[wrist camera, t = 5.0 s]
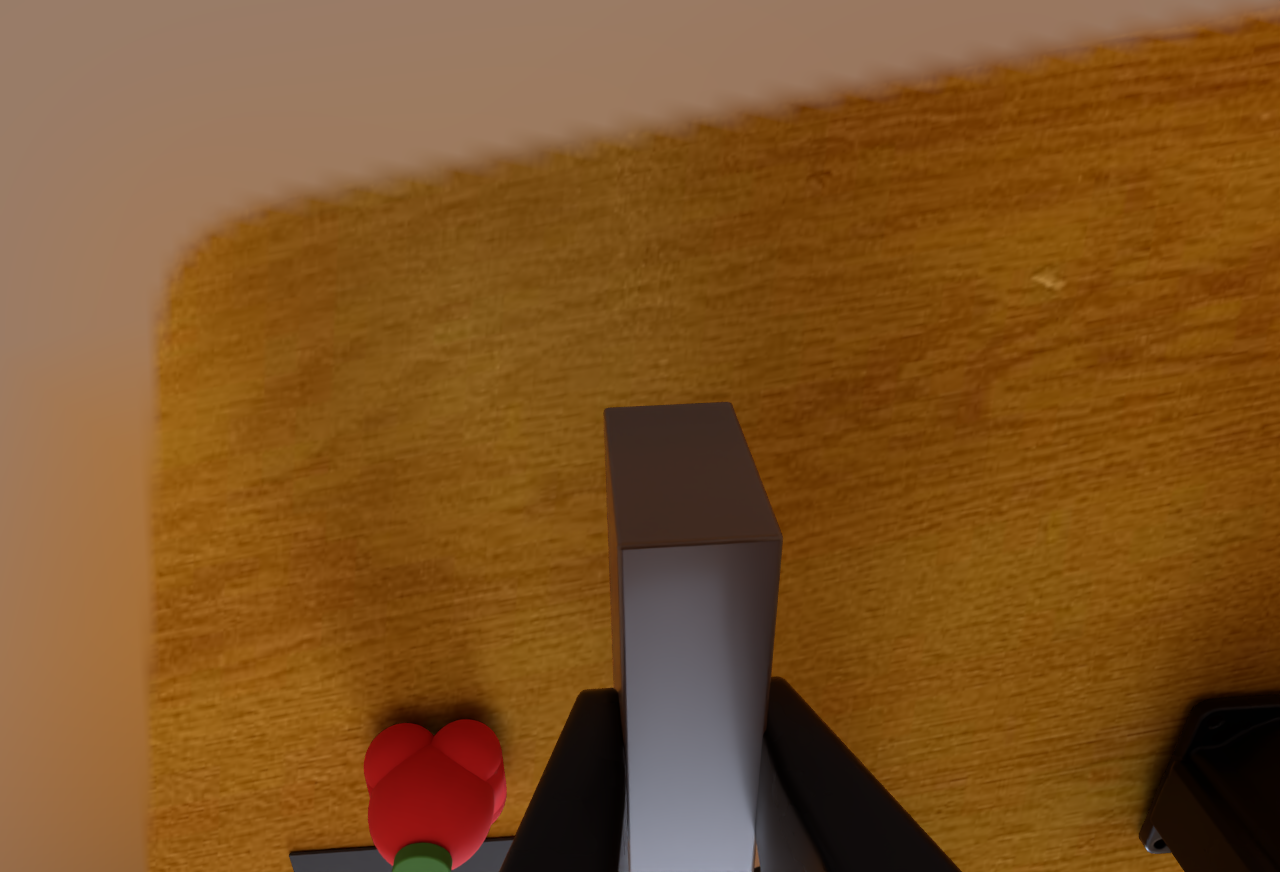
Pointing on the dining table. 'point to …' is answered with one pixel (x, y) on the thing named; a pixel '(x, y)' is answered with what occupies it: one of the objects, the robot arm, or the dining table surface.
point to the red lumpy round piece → (433, 793)
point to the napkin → (368, 868)
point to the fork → (690, 630)
